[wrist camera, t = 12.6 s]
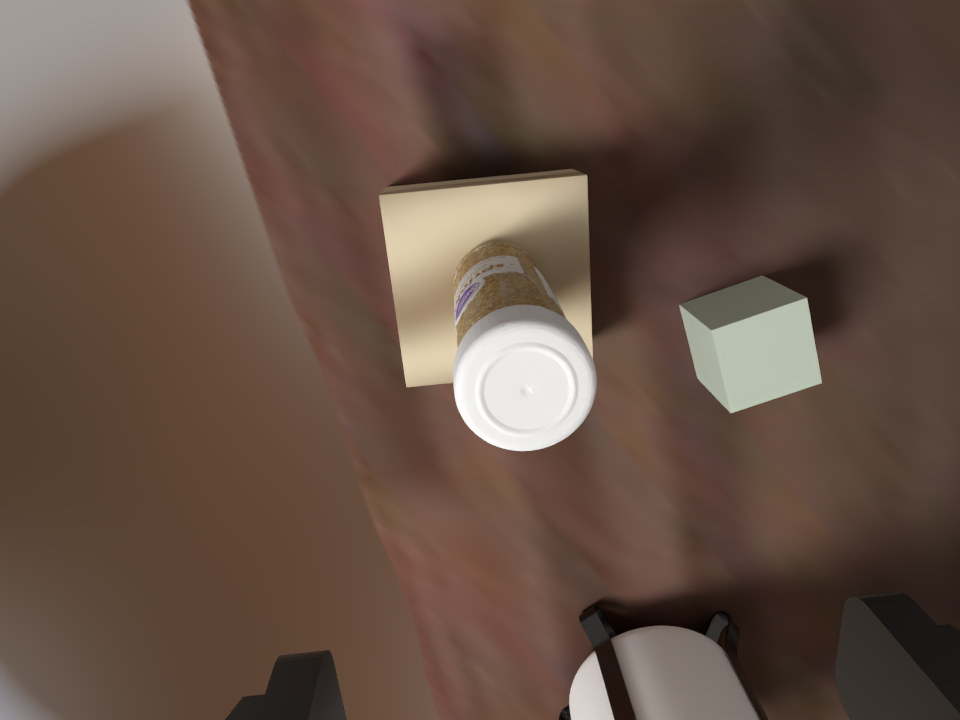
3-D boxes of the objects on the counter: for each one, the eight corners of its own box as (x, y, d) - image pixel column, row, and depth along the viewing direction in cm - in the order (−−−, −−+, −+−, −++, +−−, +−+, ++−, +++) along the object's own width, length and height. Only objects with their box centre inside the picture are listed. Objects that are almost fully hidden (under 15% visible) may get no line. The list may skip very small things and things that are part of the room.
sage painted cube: (678, 304, 38) (711, 330, 33) (761, 274, 37) (807, 297, 33) (697, 378, 39) (730, 413, 35) (776, 351, 39) (821, 382, 34)
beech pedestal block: (386, 186, 34) (379, 195, 31) (572, 168, 35) (587, 175, 31) (410, 360, 38) (406, 387, 34) (578, 343, 38) (592, 368, 34)
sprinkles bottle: (466, 228, 31) (477, 303, 19) (554, 254, 32) (621, 343, 20) (441, 315, 33) (436, 437, 20) (525, 338, 34) (571, 470, 21)
